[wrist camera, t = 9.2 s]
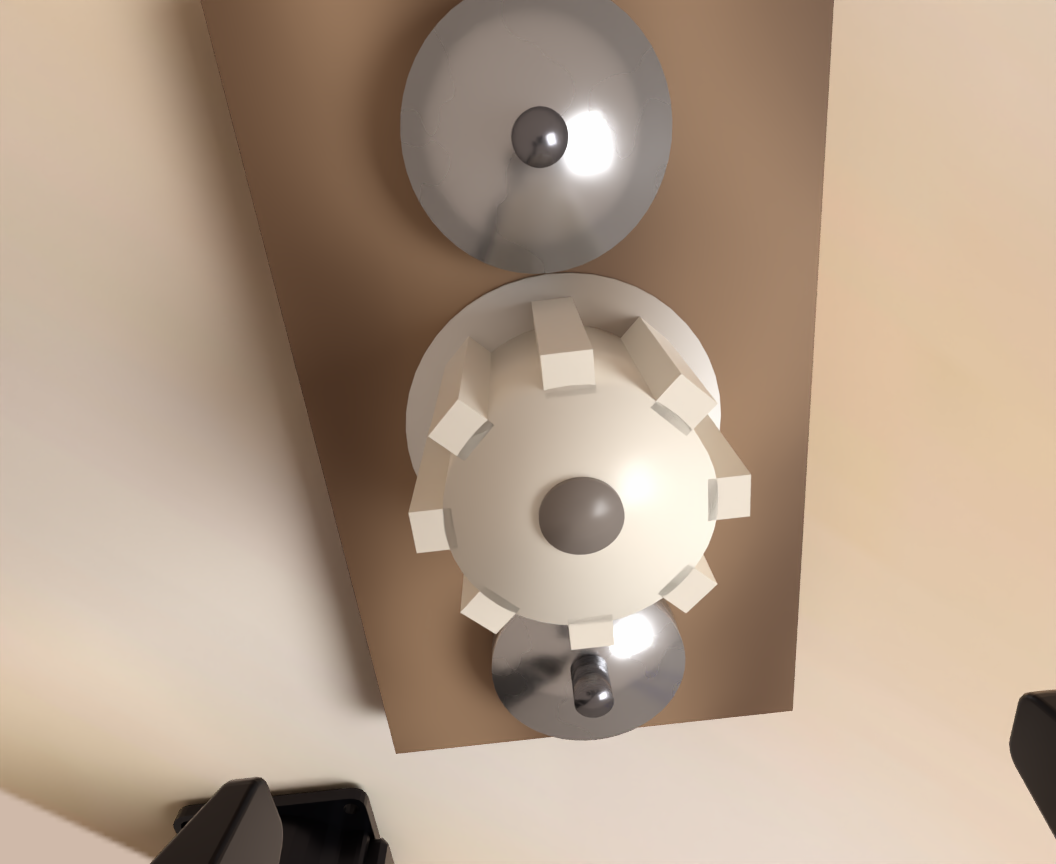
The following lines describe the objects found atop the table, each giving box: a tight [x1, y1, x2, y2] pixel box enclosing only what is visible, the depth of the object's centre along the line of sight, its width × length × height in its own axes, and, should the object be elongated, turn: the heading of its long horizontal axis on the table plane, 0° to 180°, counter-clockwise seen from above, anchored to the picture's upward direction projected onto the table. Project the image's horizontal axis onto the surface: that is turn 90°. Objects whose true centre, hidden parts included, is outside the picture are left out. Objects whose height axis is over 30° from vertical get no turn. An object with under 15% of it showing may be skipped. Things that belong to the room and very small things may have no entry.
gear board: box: [201, 0, 834, 754], centre depth 17 cm, size 12×20×2 cm, turn 6°
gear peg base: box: [400, 0, 685, 740], centre depth 16 cm, size 5×18×2 cm, turn 6°
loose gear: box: [409, 297, 751, 650], centre depth 15 cm, size 6×6×4 cm
